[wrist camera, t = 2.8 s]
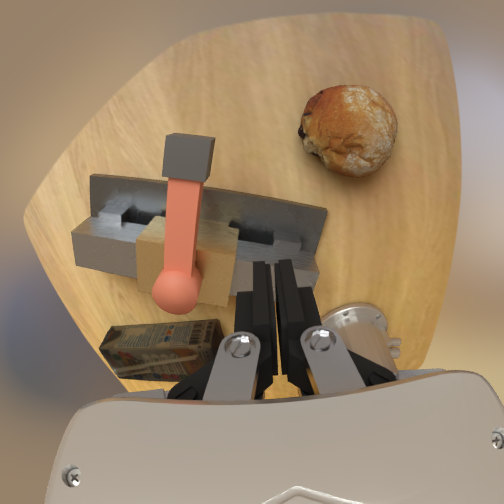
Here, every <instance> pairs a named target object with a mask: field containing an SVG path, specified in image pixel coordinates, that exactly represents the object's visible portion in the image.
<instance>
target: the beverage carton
mask: <svg viewBox="0 0 504 504" xmlns="http://www.w3.org/2000/svg"><path fill="white" fill-rule="evenodd" d="M223 339H224V337H223V333H222V330H221V327H220V323H219V320H218V319H214V320H201V321H188V322H176V323H161V324H142V325H126V326H111V328H110V330H109V331H108V332H107V334H106V336H105V338H104V340H103V342H102V343H101V345H100V347H99V350H100V352H101V353H102V355H103V356H104V358H105V359H106V361H107V362H108V363H109V365H110V366H111V368H112V369H113V371H114V373H115V374H116V375H117V376H118V377H119V378H121V379H135V380H147V381H169V382H181V381H182V380H184V379H185V378H187V377H188V376H190V375H191V374H193V373H194V372H196V371H197V370H198V369H200V368H201V367H203V366H204V365H206V364H207V363H208V362H210V361H211V360H213V359H214V358H216V355H217V352H218V349H219V346H220V343H221V342H222V340H223Z"/></svg>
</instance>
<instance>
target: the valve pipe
mask: <svg viewBox="0 0 504 504" xmlns="http://www.w3.org/2000/svg"><path fill="white" fill-rule="evenodd" d="M167 190H168V181H161V180H152V179H143V178H134V177H125V176H114V175H103V174H92V175H90V208H91V217H89V218H87V219H86V220H85V221H84V222H82V223H81V224H80V225H79V226H78V227H76V228H75V229H74V230H73V231H72V232H71V234H72V242H73V250H74V256H75V263H76V266H81V267H85V268H89V269H94V270H98V271H103V272H108V273H112V274H117V275H122V276H127V277H132V278H137V282H138V291H140V292H145V293H150V294H152V289H153V286H154V284H155V282H156V280H157V278H158V276H159V274H160V272H161V270H162V268H163V267H164V243H165V221H166V204H167ZM327 212H328V211H327V209H326V208H322V207H317V206H313V205H308V204H303V203H298V202H293V201H288V200H282V199H277V198H272V197H266V196H261V195H255V194H249V193H243V192H237V191H231V190H225V189H219V188H212V187H205V186H203V192H202V200H201V209H200V218H199V227H198V237H197V247H196V257H195V267H196V268H197V269H198V271H199V272H200V274H201V277H202V285H201V288H200V292H199V296H198V300H197V302H198V303H204V304H210V305H216V306H222V307H227V305H228V299H229V295H232V296H237V292H242V291H253V262H254V261H265V264H270V266H271V276H272V286H273V296H274V302H276V293H275V272H274V263H279V260H282V259H291V260H292V265H293V269H294V274H295V278H296V282H297V287H309V286H311V288H312V291H313V290H314V287H315V284H316V282H317V279H318V276H319V270H318V267H317V264H316V261H315V259H314V255H315V252H316V249H317V245H318V242H319V239H320V236H321V232H322V229H323V226H324V222H325V219H326V216H327Z"/></svg>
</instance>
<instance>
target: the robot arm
mask: <svg viewBox="0 0 504 504" xmlns="http://www.w3.org/2000/svg"><path fill="white" fill-rule="evenodd" d="M274 272H275V293H276V314H277V325H278V335H279V346H280V357H281V368H282V375H286V374H287V378H288V382H291V383H292V384H294V385H295V386H297V387H298V394H299V397H291V398H278V399H264V398H265V390H266V389H267V388H268V387H269V386H270V385H271V384H272V383H273V375H278V361H277V334H276V317H275V307H274V296H273V286H272V276H271V266H270V264H265V261H254V262H253V291H242V292H237V297H236V311H235V324H234V333H231V334H230V335H228V336H226V337H225V338H224V339H223V340H222V342H221V343H220V346H219V349H218V352H217V355H216V358H214V359H213V360H211V361H210V362H208V363H207V364H206V365H204V366H203V367H201V368H200V369H198V370H197V371H196V372H194V373H193V374H191V375H190V376H188V377H187V378H185V379H184V380H182V381H181V382H179V383H178V384H176V385H175V386H174V387H173V388H171V390H169V391H164V389H157V390H149V391H140V392H130V393H120V394H116V395H114V396H112V397H111V398H108V399H103V400H99V401H95V402H91V403H89V404H87V405H85V406H83V407H81V408H80V409H79V410H78V411H77V412H76V413H75V415H74V416H73V418H72V419H71V421H70V423H69V425H68V427H67V429H66V431H65V433H64V436H63V438H62V441H61V443H60V446H59V449H58V452H57V455H56V457H55V461H54V465H53V468H52V472H51V476H50V480H49V484H48V488H47V492H46V497H45V503H44V504H504V406H503V405H502V403H501V401H500V399H499V397H498V395H497V394H496V392H495V391H494V389H493V388H492V386H491V385H490V383H489V382H488V381H487V380H486V379H485V378H484V377H483V376H481V375H479V374H478V373H475V372H470V371H462V370H448V371H446V370H444V369H422V370H397V367H396V365H395V362H394V360H393V359H396V358H398V357H399V356H400V349H399V347H390V346H400V344H401V339H400V338H390V337H388V335H387V320H386V317H385V316H384V314H383V312H382V311H381V310H380V309H379V308H377V307H376V306H374V305H370V304H366V303H353V304H349V305H344V306H342V307H339V308H337V309H335V310H333V311H331V312H329V313H328V314H326V315H325V316H323V317H322V318H321V319H320V316H319V312H318V308H317V305H316V301H315V298H314V294H313V291H312V288H311V286H309V287H297V282H296V278H295V274H294V269H293V265H292V260H291V259H282V260H279V263H274Z"/></svg>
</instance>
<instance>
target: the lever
mask: <svg viewBox="0 0 504 504" xmlns="http://www.w3.org/2000/svg"><path fill="white" fill-rule="evenodd" d="M214 144H215V138H214V137H207V136H199V135H190V134H180V133H173V134H170V135H166V140H165V149H164V159H163V170H162V177H169V178H168V190H167V204H166V221H165V243H164V267H163V268H162V270H161V272H160V274H159V276H158V278H157V280H156V282H155V284H154V286H153V289H152V296H153V299H154V301H155V302H156V304H157V305H158V306H159V307H160V308H161V309H163V310H164V311H166V312H168V313H171V314H177V315H181V314H186V313H189V312H190V311H192V310H193V309H194V308H195V306H196V303H197V300H198V296H199V292H200V288H201V285H202V277H201V274H200V272H199V271H198V269H197V268H196V267H195V257H196V247H197V237H198V227H199V218H200V209H201V200H202V192H203V184H204V182H206V180H207V179H208V177H209V176H210V171H211V164H212V157H213V150H214Z"/></svg>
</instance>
